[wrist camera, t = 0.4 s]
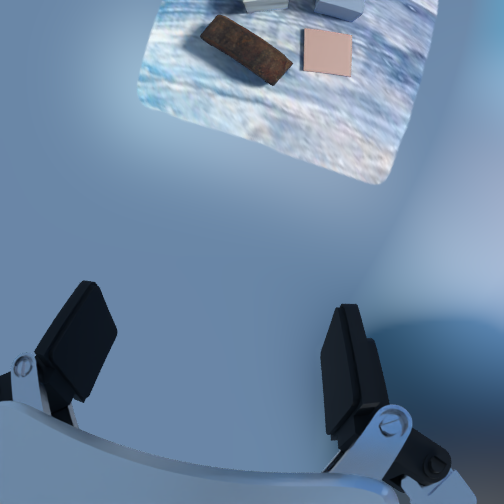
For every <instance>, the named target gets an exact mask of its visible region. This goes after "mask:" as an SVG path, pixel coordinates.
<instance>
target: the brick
mask: <svg viewBox="0 0 504 504" xmlns="http://www.w3.org/2000/svg"><path fill="white" fill-rule="evenodd" d="M200 37H201V39H203V40H204V41H205V42H207V43H208V44H210V45H211V46H214V47H216V48H217V49H219V50H220V51H222V52H224V53H225V54H227V55H229V56H230V57H231V58H233V59H235V60H236V61H238V62H239V63H241V64H242V65H244V66H245V67H246V68H248V69H249V70H251V71H252V72H254V73H255V74H256V75H258V76H259V77H261V78H262V79H263V80H265V82H267V83H269V84H270V85H272V86H274V85H275V84H276V82H277V81H278V80H279V79H280V78H281V77H282V76H283V75H284V74H285V72H286V71H287V70H288V69H289V68H290V67H291V66H292V64H293V63H292V62H291V61H290V60H289V59H288V58H287V57H286V56H285V55H284V54H282V53H281V52H280V51H279V50H277V49H276V48H274V47H273V46H272V45H270V44H269V43H268V42H266V41H264V40H263V39H261V38H260V37H258V36H257V35H255V34H254V33H252V32H251V31H249V30H247V29H246V28H244V27H242V26H241V25H239V24H237V23H236V22H234V21H232V20H230V19H229V18H227V17H225V16H222V15H217V16H216V17H215V19H214V20H213V21H212V22H211V23H210V24H209V26H208V27H207V28H206V29H205V31H204V32H203V33H202V34H201V35H200Z"/></svg>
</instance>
